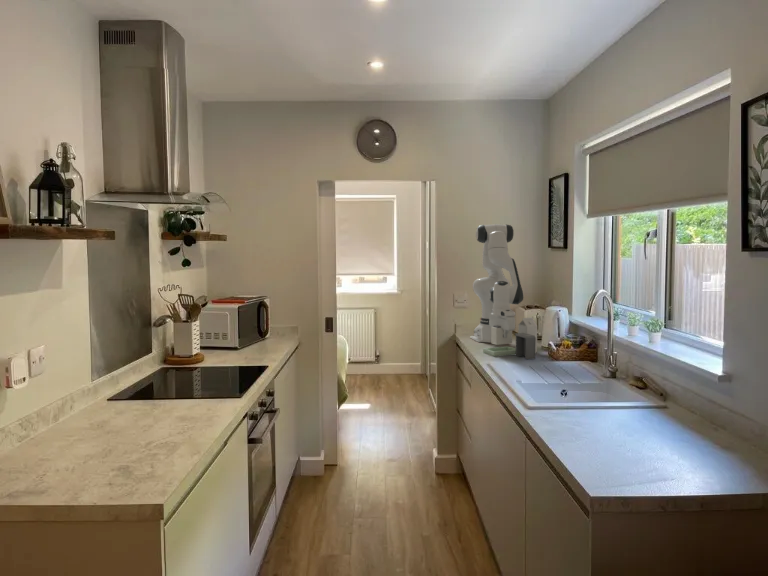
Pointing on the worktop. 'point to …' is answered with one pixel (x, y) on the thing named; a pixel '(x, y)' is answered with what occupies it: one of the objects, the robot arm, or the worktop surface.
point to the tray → (500, 351)
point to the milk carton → (529, 328)
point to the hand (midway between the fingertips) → (501, 336)
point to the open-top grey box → (525, 345)
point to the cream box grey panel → (500, 336)
